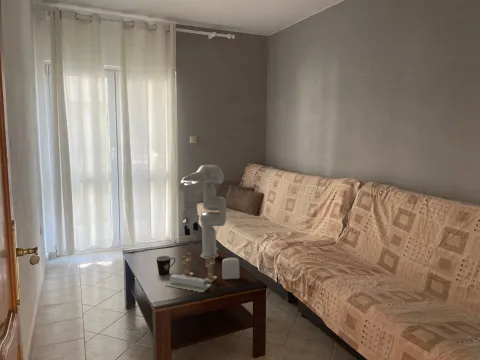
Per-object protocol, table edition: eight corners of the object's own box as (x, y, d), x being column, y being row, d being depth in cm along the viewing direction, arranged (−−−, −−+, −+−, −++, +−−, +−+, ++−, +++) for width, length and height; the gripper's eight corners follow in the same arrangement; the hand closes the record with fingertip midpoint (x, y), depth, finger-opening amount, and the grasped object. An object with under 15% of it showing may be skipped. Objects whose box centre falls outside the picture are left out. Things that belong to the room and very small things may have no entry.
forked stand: (186, 273, 221) (185, 252, 219) (217, 278, 213) (216, 256, 211) (180, 277, 214) (179, 256, 212) (211, 282, 206) (211, 260, 204)
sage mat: (175, 279, 212) (175, 278, 211) (211, 285, 202) (211, 284, 202) (165, 285, 202) (165, 284, 202) (202, 292, 193) (202, 291, 193)
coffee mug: (157, 277, 215) (156, 261, 214) (156, 272, 223) (156, 256, 222) (176, 275, 218) (176, 259, 217) (175, 270, 226) (174, 254, 225)
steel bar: (173, 280, 208) (173, 273, 208) (207, 286, 200) (207, 279, 199) (169, 283, 205) (169, 276, 204) (203, 289, 196) (203, 282, 196)
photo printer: (222, 279, 210) (222, 259, 209) (222, 277, 214) (221, 257, 213) (239, 279, 211) (239, 258, 210) (239, 276, 215) (238, 256, 214)
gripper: (192, 200, 216) (193, 228, 219) (176, 207, 201) (178, 236, 203) (203, 201, 213) (204, 229, 216) (188, 208, 198) (189, 237, 200)
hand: (191, 232), depth 210 cm, fingers open, 9 cm apart
